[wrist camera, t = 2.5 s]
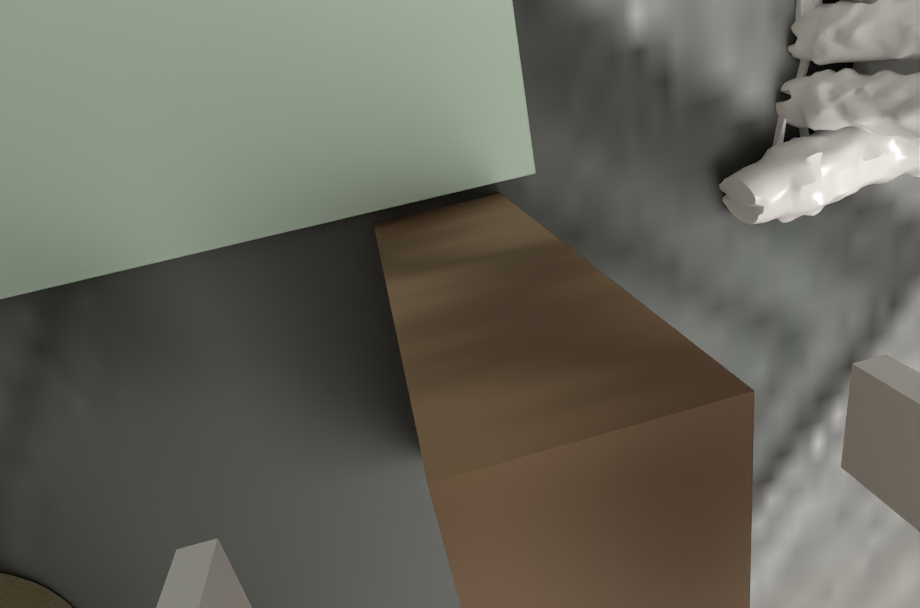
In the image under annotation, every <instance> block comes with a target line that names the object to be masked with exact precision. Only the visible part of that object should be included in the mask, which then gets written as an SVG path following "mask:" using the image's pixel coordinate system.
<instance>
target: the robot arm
mask: <svg viewBox="0 0 920 608" xmlns="http://www.w3.org/2000/svg"><path fill="white" fill-rule="evenodd" d="M841 467H842V468H843V469H844V470H845V471H847V472H848V473H849V474H850V475H851V476H853V477H854V478H855V479H856V480H857V481H859V482H860V483H861V484H862V485H864V486H865V487H866V488H867V489H868V490H870V491H871V492H872V493H873V494H875V495H876V496H877V497H878V498H879V499H881V500H882V501H883V502H884V503H885V504H887V505H888V506H889V507H890V508H892V509H893V510H894V511H895V512H896V513H898V514H899V515H900V516H901V517H902V518H904V519H905V520H906V521H907V522H909V523H910V524H911V525H912V526H913V527H915V528H916V529H917V530H918V531H919V532H920V373H919V372H917V371H915V370H913V369H911V368H910V367H908V366H906V365H904V364H902V363H900V362H899V361H897V360H895V359H893V358H891V357H889V356H888V355H882V356H879V357H875V358H871V359H868V360H864V361H860V362H857V363H853V364H852V372H851V381H850V390H849V399H848V408H847V417H846V426H845V435H844V444H843V453H842V462H841ZM156 608H252V607H251V604H250V602H249V600H248V598H247V596H246V594H245V592H244V590H243V588H242V586H241V584H240V582H239V580H238V578H237V576H236V574H235V572H234V570H233V568H232V566H231V564H230V562H229V560H228V558H227V556H226V554H225V552H224V550H223V548H222V546H221V544H220V542H219V540H218V538H216V539H213V540H209V541H206V542H202V543H198V544H195V545H191V546H187V547H184V548H180V549H177V550H176V553H175V555H174V558H173V561H172V564H171V567H170V570H169V572H168V575H167V578H166V581H165V584H164V587H163V589H162V592H161V595H160V598H159V601H158V604H157V606H156Z"/></svg>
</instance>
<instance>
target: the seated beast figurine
mask: <svg viewBox="0 0 920 608" xmlns="http://www.w3.org/2000/svg"><path fill="white" fill-rule="evenodd" d="M791 30H792V32H793V33H794V34H795V35H796V36H797V40H796V43H795V44H793V45H789V46H788V52H790V53H792V57H794V58H798V59H801V60H800V64H799V68H798V72H797V76H796V78H795V79H792V80H789V81H787V82H786V83H784V84H783V85H782V87H781V89H780V91H781V92H784V93H786V94H789V95H791V99H789V100H787V101H782V102H777V103H776V112H777V115H778V119H777V125H776V130H775V136H774V141H773V147H771V148H770V149H768V150H767V151H766V153H765V154H764V156H763V158H762V159H761V160H759V161H758V162H756V163H754V164H751V165H749V166H746V167H744V168H742V169H741V170H739V171H738V172H736V173H734V174H732V175H731V176H729V177H727V178H726V179H724V180H723V182H722V183H721V184H719V188H720V190H721V191H723V192H724V193H726V195H725V196H724V197H723V198H722V200H723V203H724V204H725V205H726V206H727V208H728V209H729V211H730V212H731V213H732V214H733V215H734V216H735V217H736V218H737V219H739V220H740V221H742V222H744V223H748V224H757V223H765V222H768V221H770V220H773V219H776V218H777V219H778V220H780V221H781V222H789V221H792V220H794V219H795V218H797V217H799V216H802V215H816V214H817V213H819V212H820V211H821V210H822V208H823V207H824V206H825V205H827V204H830V203H833V202H836V201H839V200H841V199H842V198H844V197H846V196H848V195H850V194H852V193H855V192H857V191H858V190H859V189H860V188H862V187H864V186H866V185H869V184H878V183H887V182H889V181H890V180H892V179H894V178H895V177H897V176H899V175H901V174H905V173H908V174H910V175H912V176H916V177H920V0H841V1H838V2H836V3H832V4H822V0H796V14H795V22H794V23H793V25H792V26H791ZM810 61H813V62H814V63H816V64H818V65H826V64H831V63H843V62H854V64H853V69H850V68H844V69H842V70H840V71H838V72H835V71H833V70H831V69H827V70H824V71H819V72H815V73H814V74H813V75H811V76H806V73H807V70H808V67H809V63H810ZM786 123H787V124H789V125H792V126H795V127H799V132H800V138H792V139H791V140H790V141H787V142H783V140H784V134H785V127H786ZM808 128H810V129H812V130H814V131H815V132H813V133H812V134H810V135H809V131H808Z"/></svg>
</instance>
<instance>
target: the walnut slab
mask: <svg viewBox="0 0 920 608" xmlns="http://www.w3.org/2000/svg"><path fill="white" fill-rule="evenodd" d="M373 224H374V229H375V234H376V239H377V243H378V248H379V253H380V258H381V263H382V267H383V272H384V277H385V282H386V286H387V291H388V296H389V301H390V306H391V310H392V315H393V320H394V325H395V329H396V334H397V339H398V344H399V349H400V353H401V358H402V363H403V368H404V373H405V377H406V382H407V387H408V392H409V396H410V401H411V406H412V411H413V416H414V420H415V425H416V430H417V435H418V439H419V444H420V449H421V454H422V459H423V463H424V468H425V473H426V478H427V482H428V487H429V490H430V494H431V498H432V501H433V505H434V509H435V512H436V516H437V520H438V523H439V527H440V531H441V534H442V538H443V542H444V545H445V549H446V553H447V556H448V560H449V564H450V567H451V571H452V575H453V578H454V582H455V586H456V589H457V593H458V597H459V600H460V604H461V608H750V566H751V521H752V476H753V432H754V390H753V389H751V388H750V387H749V386H747V385H746V384H745V383H744V382H742V381H741V380H740V379H738V378H737V377H736V376H735V375H733V374H732V373H731V372H730V371H728V370H727V369H726V368H724V367H723V366H722V365H721V364H719V363H718V362H717V361H715V360H714V359H713V358H712V357H710V356H709V355H708V354H706V353H705V352H704V351H703V350H701V349H700V348H699V347H697V346H696V345H695V344H694V343H692V342H691V341H690V340H688V339H687V338H686V337H685V336H683V335H682V334H681V333H679V332H678V331H677V330H676V329H674V328H673V327H672V326H670V325H669V324H668V323H667V322H665V321H664V320H663V319H661V318H660V317H659V316H658V315H656V314H655V313H654V312H652V311H651V310H650V309H649V308H647V307H646V306H645V305H643V304H642V303H641V302H640V301H638V300H637V299H636V298H634V297H633V296H632V295H631V294H629V293H628V292H627V291H625V290H624V289H623V288H622V287H620V286H619V285H618V284H616V283H615V282H614V281H613V280H611V279H610V278H609V277H607V276H606V275H605V274H604V273H602V272H601V271H600V270H599V269H597V268H596V267H595V266H593V265H592V264H591V263H590V262H588V261H587V260H586V259H584V258H583V257H582V256H581V255H579V254H578V253H577V252H575V251H574V250H573V249H572V248H570V247H569V246H568V245H566V244H565V243H564V242H563V241H561V240H560V239H559V238H557V237H556V236H555V235H554V234H552V233H551V232H550V231H548V230H547V229H546V228H545V227H543V226H542V225H541V224H539V223H538V222H537V221H536V220H534V219H533V218H532V217H530V216H529V215H528V214H527V213H525V212H524V211H523V210H521V209H520V208H519V207H518V206H516V205H515V204H514V203H512V202H511V201H510V200H509V199H507V198H506V197H505V196H503V195H502V194H501V193H499V194H495V195H491V196H486V197H482V198H478V199H474V200H470V201H465V202H461V203H457V204H453V205H448V206H444V207H440V208H436V209H432V210H427V211H423V212H419V213H415V214H411V215H406V216H402V217H398V218H394V219H389V220H385V221H381V222H377V223H373Z"/></svg>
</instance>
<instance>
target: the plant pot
mask: <svg viewBox="0 0 920 608" xmlns="http://www.w3.org/2000/svg"><path fill="white" fill-rule="evenodd" d="M0 608H73V607H72V606H71V605H70V604H68V603H67V602H66V601H65V600H64V599H62V598H61V597H59V596H58V595H56V594H55V593H53V592H52V591H50V590H48V589H47V588H45V587H43V586H40V585H38V584H36V583H34V582H31V581H28V580H25V579H22V578H19V577H16V576H12V575H8V574H3V573H0Z"/></svg>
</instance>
